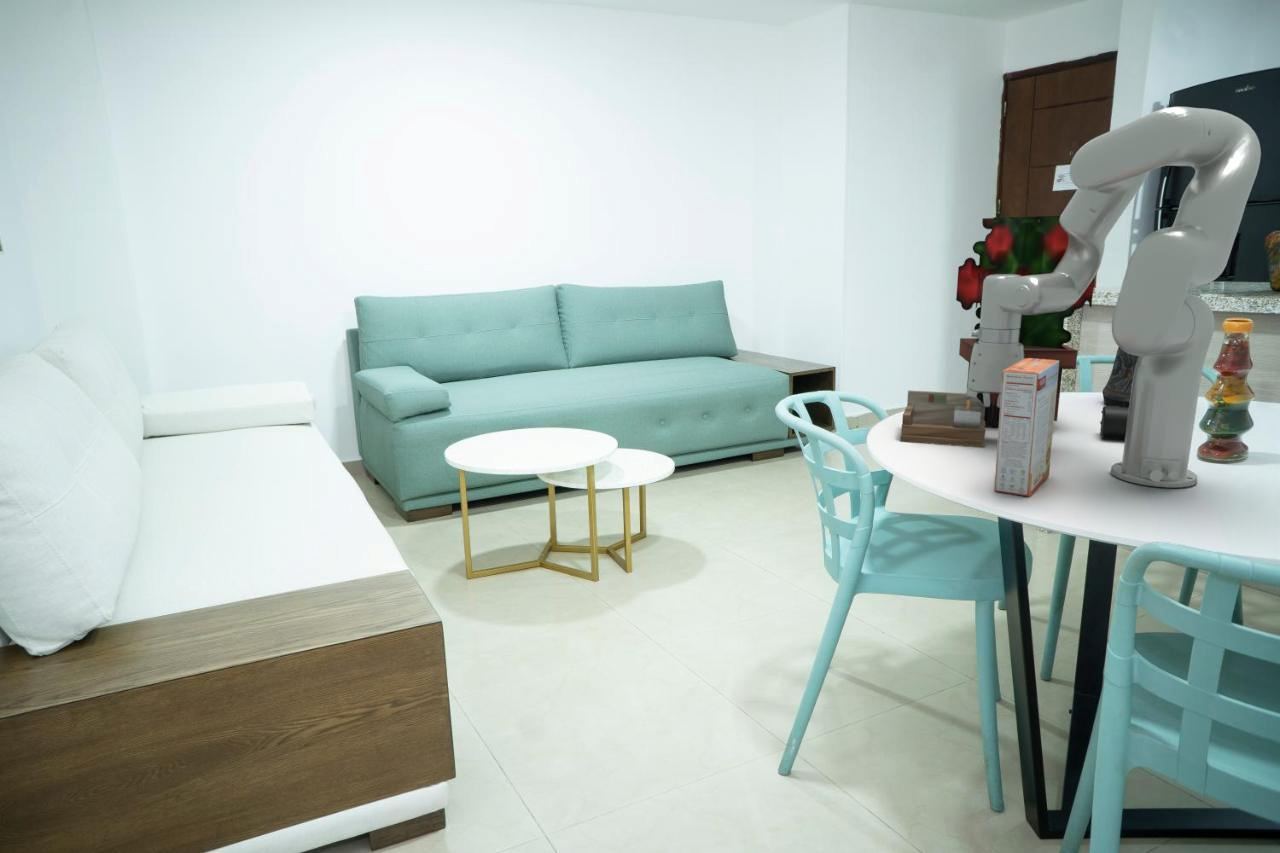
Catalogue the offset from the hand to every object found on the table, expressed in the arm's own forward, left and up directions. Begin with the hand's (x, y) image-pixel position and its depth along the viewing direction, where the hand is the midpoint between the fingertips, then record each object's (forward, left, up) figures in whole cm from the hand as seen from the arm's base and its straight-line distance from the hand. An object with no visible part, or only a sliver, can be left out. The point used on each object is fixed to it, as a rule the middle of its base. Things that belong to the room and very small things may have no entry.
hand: (991, 424), depth 162 cm
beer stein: (+43, -34, -4) cm, 55 cm away
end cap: (+9, -26, -4) cm, 28 cm away
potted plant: (+19, -4, -3) cm, 20 cm away
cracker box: (-30, -5, -4) cm, 31 cm away
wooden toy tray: (0, +9, -3) cm, 10 cm away
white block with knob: (0, +5, -2) cm, 5 cm away
